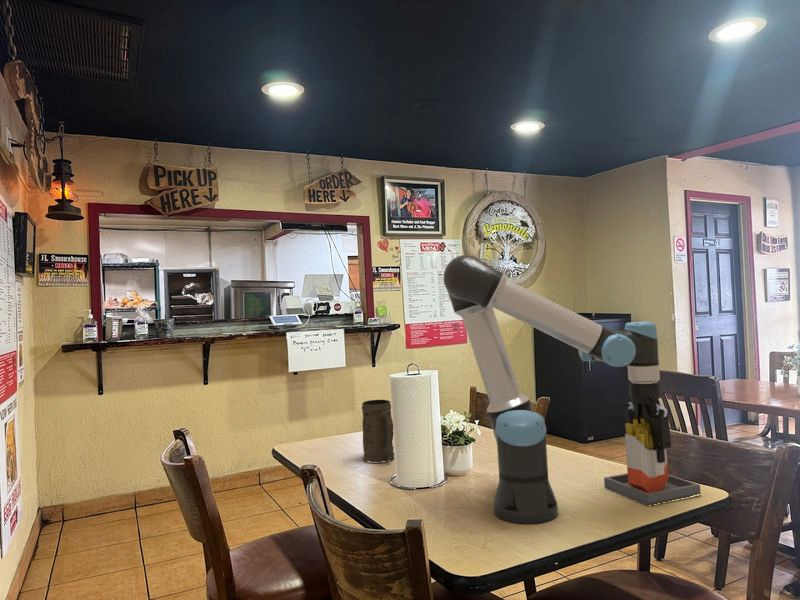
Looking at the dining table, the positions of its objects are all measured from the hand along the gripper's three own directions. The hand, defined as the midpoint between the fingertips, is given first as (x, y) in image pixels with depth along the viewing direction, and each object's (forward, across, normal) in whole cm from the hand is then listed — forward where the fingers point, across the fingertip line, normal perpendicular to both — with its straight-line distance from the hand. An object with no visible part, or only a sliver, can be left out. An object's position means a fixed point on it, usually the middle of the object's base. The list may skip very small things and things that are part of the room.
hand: (650, 471), depth 146 cm
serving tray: (+5, 0, 0) cm, 5 cm away
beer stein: (+5, +66, +52) cm, 84 cm away
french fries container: (+5, 0, +1) cm, 5 cm away
